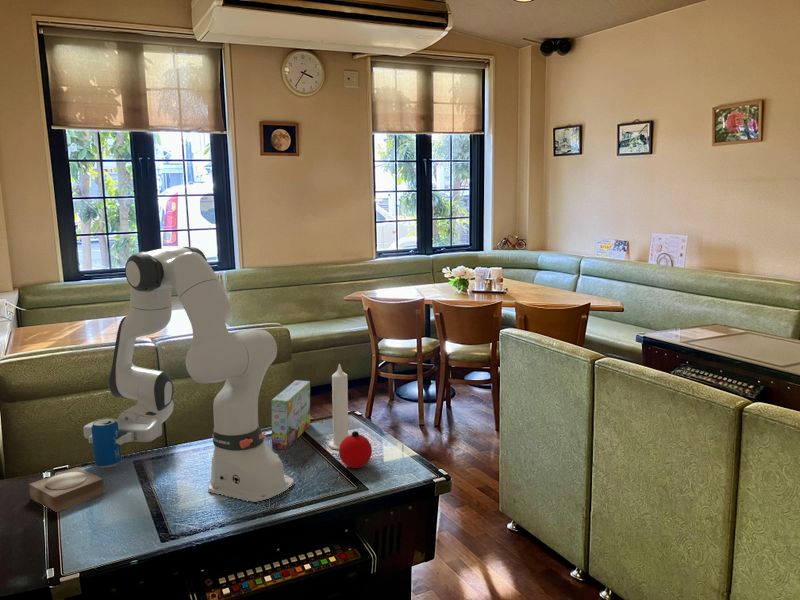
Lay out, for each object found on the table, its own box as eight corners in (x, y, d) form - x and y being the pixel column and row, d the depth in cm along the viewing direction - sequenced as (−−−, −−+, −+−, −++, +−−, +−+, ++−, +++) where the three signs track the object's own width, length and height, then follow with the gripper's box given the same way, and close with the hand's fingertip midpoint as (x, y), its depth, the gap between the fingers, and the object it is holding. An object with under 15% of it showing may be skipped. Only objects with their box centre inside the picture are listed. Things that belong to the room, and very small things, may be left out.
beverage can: (111, 469, 169) (107, 426, 167) (89, 468, 170) (85, 425, 168) (126, 459, 175) (122, 417, 173) (105, 458, 176) (101, 416, 174)
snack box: (289, 450, 187) (287, 400, 184) (271, 449, 188) (269, 399, 185) (311, 424, 208) (310, 379, 205) (295, 423, 209) (294, 379, 206)
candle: (324, 445, 191) (322, 363, 187) (342, 438, 195) (341, 359, 191) (338, 452, 186) (337, 368, 181) (357, 445, 190) (356, 364, 186)
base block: (104, 493, 160) (102, 477, 159) (55, 513, 150) (53, 495, 149) (78, 481, 166) (77, 465, 166) (30, 499, 157) (28, 482, 156)
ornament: (333, 464, 177) (333, 429, 176) (362, 457, 182) (362, 423, 180) (348, 476, 170) (347, 440, 168) (377, 469, 174) (377, 434, 173)
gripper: (100, 410, 185) (68, 427, 172) (165, 414, 181) (137, 431, 168) (102, 431, 186) (70, 450, 173) (167, 435, 183) (139, 454, 169)
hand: (104, 441), depth 170 cm, fingers closed on beverage can, 6 cm apart
